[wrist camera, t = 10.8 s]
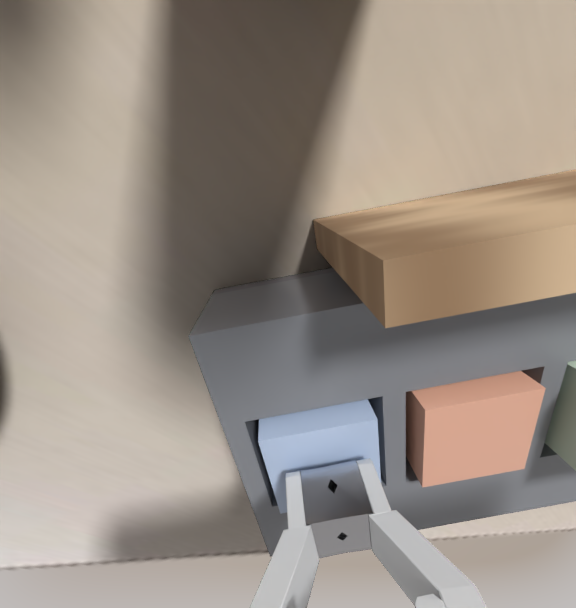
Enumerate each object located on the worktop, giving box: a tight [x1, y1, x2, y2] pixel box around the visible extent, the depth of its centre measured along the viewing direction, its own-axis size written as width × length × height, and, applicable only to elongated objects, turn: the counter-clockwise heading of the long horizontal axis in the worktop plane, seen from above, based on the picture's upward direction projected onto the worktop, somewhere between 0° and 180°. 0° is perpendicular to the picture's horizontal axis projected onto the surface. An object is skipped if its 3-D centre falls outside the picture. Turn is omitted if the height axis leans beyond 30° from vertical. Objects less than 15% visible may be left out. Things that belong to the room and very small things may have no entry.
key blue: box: [258, 399, 381, 514], centre depth 11 cm, size 4×4×4 cm
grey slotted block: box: [188, 268, 576, 556], centre depth 12 cm, size 23×12×4 cm, turn 100°
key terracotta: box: [406, 371, 546, 488], centre depth 11 cm, size 4×4×4 cm
